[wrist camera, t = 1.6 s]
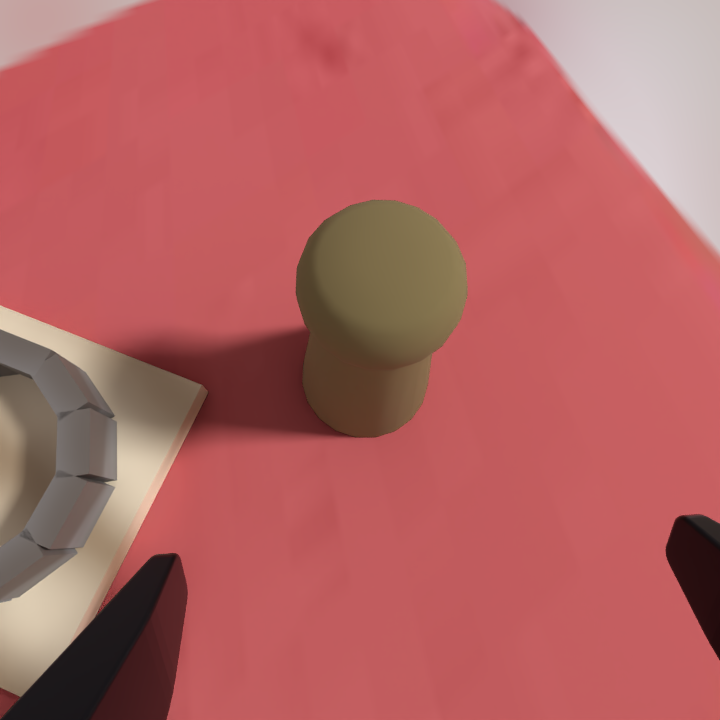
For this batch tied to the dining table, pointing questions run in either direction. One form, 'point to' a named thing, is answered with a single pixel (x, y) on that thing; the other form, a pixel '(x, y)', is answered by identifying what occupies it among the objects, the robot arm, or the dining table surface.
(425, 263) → the cork
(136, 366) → the collar board
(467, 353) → the dining table surface
